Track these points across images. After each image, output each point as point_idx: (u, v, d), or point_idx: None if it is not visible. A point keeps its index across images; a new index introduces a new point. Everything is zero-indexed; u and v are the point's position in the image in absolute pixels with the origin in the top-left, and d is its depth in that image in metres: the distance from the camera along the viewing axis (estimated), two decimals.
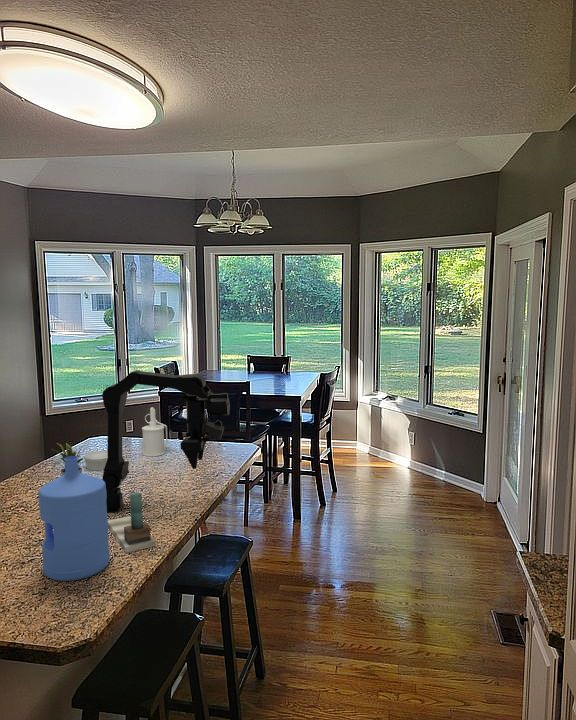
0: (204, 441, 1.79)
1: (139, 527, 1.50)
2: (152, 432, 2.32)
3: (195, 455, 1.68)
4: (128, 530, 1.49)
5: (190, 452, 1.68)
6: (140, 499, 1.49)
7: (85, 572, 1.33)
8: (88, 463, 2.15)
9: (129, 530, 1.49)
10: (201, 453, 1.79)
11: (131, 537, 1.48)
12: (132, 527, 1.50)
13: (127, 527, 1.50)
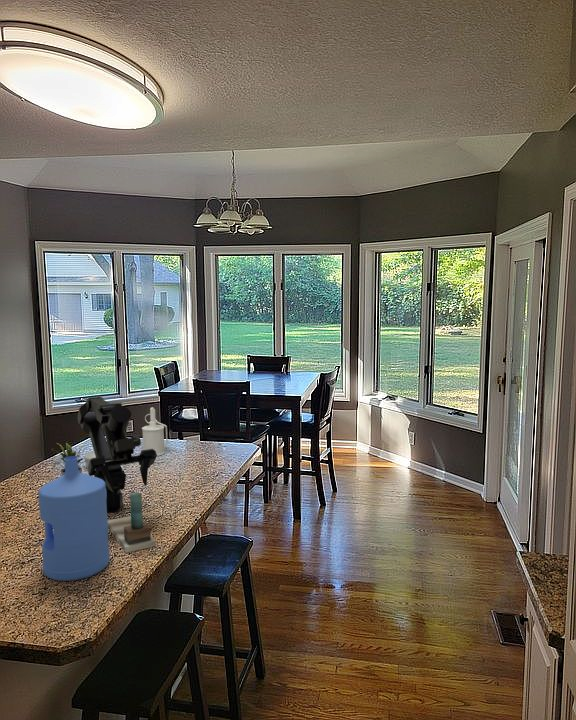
0: (143, 464, 1.61)
1: (139, 527, 1.50)
2: (152, 432, 2.32)
3: None
4: (128, 530, 1.49)
5: (103, 476, 1.57)
6: (140, 499, 1.49)
7: (85, 572, 1.33)
8: (88, 463, 2.15)
9: (129, 530, 1.49)
10: (143, 478, 1.60)
11: (131, 537, 1.48)
12: (132, 527, 1.50)
13: (127, 527, 1.50)
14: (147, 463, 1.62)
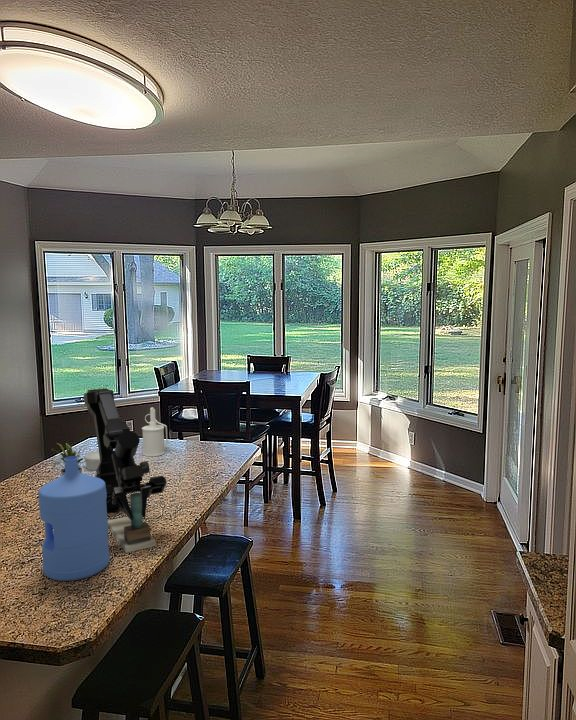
0: None
1: (139, 527, 1.50)
2: (152, 432, 2.32)
3: None
4: (128, 530, 1.49)
5: (122, 503, 1.51)
6: (140, 499, 1.49)
7: (85, 572, 1.33)
8: (88, 463, 2.15)
9: (129, 530, 1.49)
10: (142, 509, 1.51)
11: (131, 537, 1.48)
12: (132, 527, 1.50)
13: (127, 527, 1.50)
14: (146, 493, 1.52)
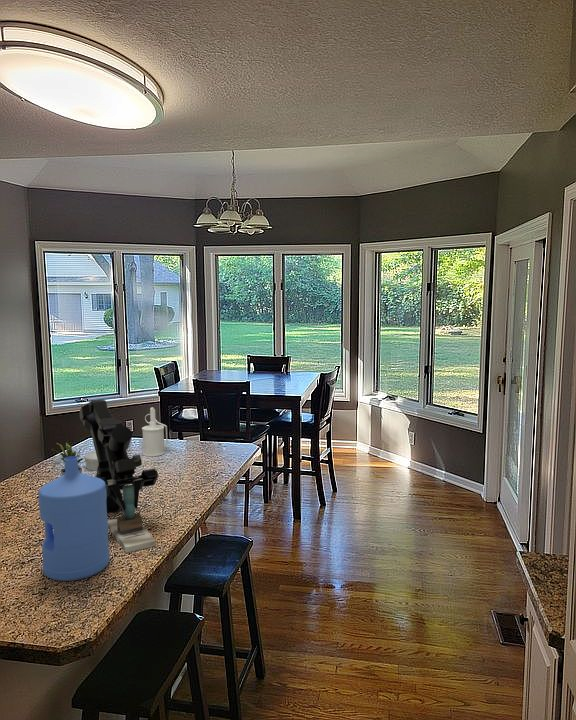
0: (134, 486, 1.59)
1: (131, 518, 1.56)
2: (152, 432, 2.32)
3: None
4: (121, 520, 1.55)
5: (115, 495, 1.57)
6: (132, 491, 1.55)
7: (85, 572, 1.33)
8: (88, 463, 2.15)
9: (122, 520, 1.55)
10: (134, 500, 1.57)
11: (124, 528, 1.54)
12: (125, 518, 1.56)
13: (119, 518, 1.56)
14: (138, 485, 1.59)
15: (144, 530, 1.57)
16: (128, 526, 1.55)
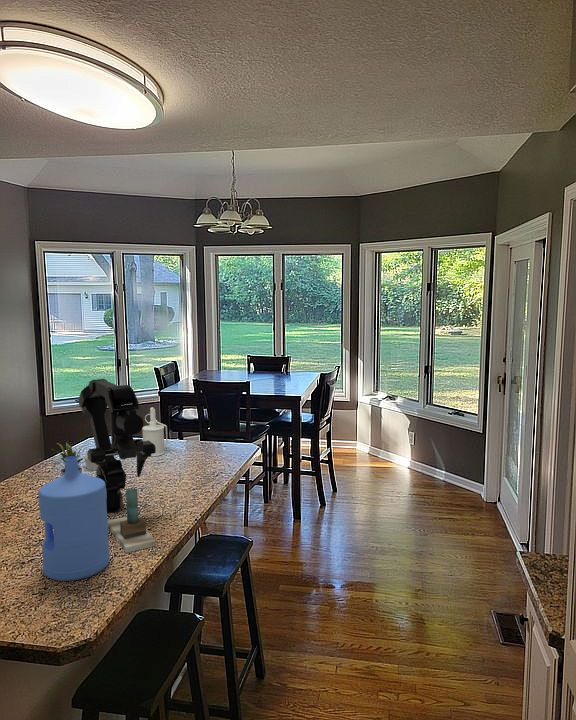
0: (140, 458, 1.66)
1: (135, 522, 1.53)
2: (152, 432, 2.32)
3: None
4: (124, 525, 1.52)
5: None
6: (136, 494, 1.53)
7: (85, 572, 1.33)
8: (88, 463, 2.15)
9: (125, 525, 1.52)
10: (138, 470, 1.67)
11: (127, 532, 1.52)
12: (128, 522, 1.53)
13: (123, 522, 1.54)
14: (144, 459, 1.66)
15: None
16: (131, 530, 1.52)
